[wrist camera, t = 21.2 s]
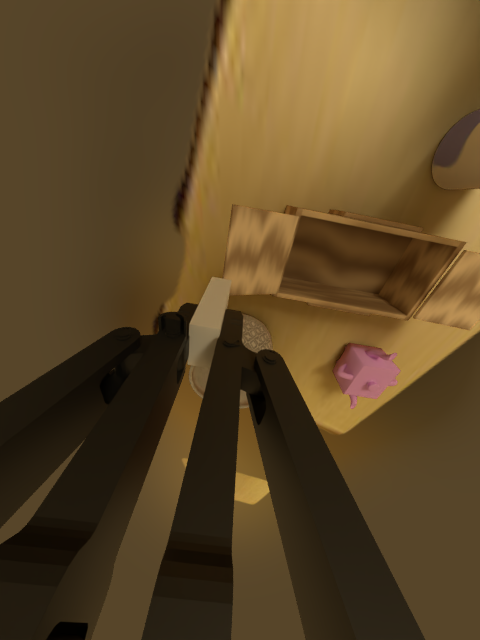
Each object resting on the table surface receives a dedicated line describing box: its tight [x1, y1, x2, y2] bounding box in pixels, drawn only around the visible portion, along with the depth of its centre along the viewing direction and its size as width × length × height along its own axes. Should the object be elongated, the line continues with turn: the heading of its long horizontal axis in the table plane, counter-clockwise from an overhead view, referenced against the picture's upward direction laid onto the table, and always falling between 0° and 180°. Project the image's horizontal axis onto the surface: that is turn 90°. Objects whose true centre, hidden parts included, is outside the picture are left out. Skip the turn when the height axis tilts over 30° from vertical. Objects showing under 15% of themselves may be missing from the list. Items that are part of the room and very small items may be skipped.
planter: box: [189, 314, 273, 408], centre depth 48 cm, size 19×19×14 cm
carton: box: [272, 205, 467, 320], centre depth 37 cm, size 16×26×10 cm, turn 80°
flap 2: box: [413, 250, 480, 330], centre depth 32 cm, size 12×1×10 cm
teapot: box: [333, 343, 400, 409], centre depth 50 cm, size 15×13×11 cm
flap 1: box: [223, 204, 299, 295], centre depth 29 cm, size 12×1×10 cm
